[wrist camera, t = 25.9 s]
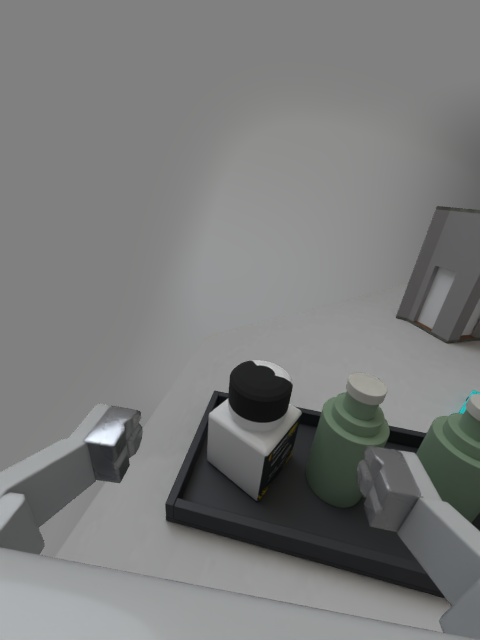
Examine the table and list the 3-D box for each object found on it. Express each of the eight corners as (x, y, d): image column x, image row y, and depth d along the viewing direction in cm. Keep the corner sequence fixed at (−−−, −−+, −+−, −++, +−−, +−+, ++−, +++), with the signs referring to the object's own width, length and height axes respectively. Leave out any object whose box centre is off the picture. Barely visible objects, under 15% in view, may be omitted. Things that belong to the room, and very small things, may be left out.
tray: (166, 520, 25) (164, 504, 24) (213, 403, 39) (214, 390, 38) (556, 629, 21) (576, 615, 20) (453, 453, 34) (461, 440, 33)
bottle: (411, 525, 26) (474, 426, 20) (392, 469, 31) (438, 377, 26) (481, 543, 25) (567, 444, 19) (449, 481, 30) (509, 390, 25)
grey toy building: (491, 340, 65) (561, 217, 53) (501, 358, 58) (584, 219, 46) (396, 316, 75) (436, 206, 62) (393, 328, 67) (439, 206, 55)
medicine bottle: (257, 504, 27) (274, 413, 21) (205, 460, 30) (208, 373, 25) (292, 455, 32) (312, 372, 26) (243, 423, 35) (253, 345, 30)
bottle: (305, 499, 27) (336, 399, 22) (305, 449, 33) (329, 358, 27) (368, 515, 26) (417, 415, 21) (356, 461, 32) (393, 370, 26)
